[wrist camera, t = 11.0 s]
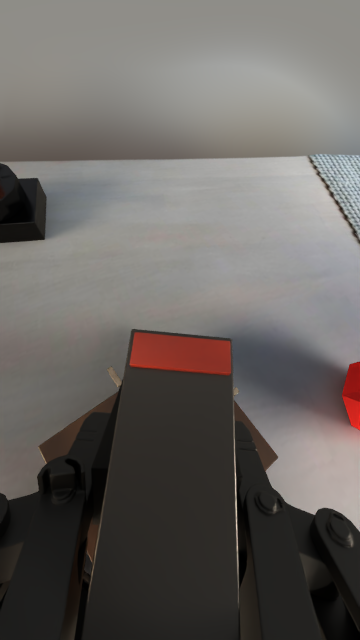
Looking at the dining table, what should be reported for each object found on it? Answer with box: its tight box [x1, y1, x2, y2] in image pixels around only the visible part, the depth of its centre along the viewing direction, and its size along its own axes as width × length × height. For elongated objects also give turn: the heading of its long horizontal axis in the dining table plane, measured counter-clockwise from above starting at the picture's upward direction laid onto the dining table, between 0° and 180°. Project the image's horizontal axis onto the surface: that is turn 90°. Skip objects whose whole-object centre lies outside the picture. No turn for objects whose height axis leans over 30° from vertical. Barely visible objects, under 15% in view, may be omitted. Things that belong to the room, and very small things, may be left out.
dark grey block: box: [80, 329, 241, 640], centre depth 10 cm, size 8×3×9 cm, turn 176°
